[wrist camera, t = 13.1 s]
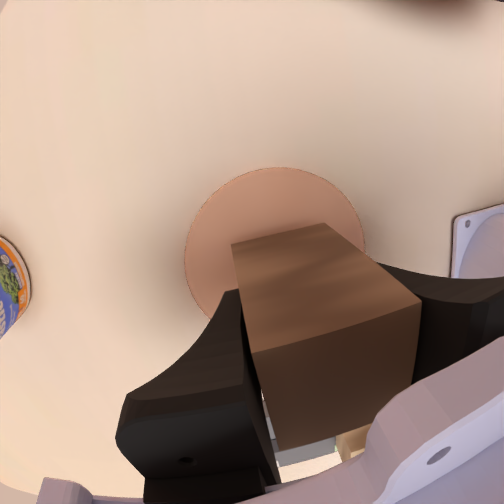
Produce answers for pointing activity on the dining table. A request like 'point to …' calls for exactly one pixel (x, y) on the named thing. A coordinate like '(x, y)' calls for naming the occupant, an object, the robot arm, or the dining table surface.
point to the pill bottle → (12, 286)
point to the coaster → (258, 223)
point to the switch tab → (352, 442)
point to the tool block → (324, 331)
